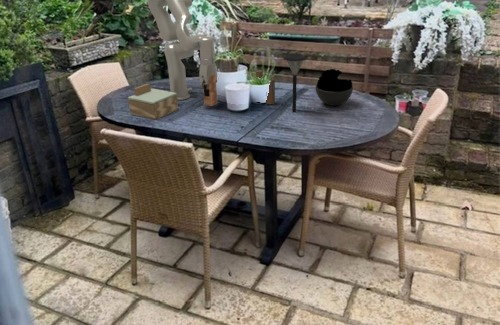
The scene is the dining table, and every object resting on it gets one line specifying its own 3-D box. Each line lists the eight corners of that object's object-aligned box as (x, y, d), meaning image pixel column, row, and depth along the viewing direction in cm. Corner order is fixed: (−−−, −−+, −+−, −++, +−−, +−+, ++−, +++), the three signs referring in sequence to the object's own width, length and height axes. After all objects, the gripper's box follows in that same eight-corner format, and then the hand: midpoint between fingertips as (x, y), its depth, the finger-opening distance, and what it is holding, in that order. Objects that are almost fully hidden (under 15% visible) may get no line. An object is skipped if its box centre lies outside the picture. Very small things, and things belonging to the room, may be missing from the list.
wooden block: (272, 105, 247) (271, 73, 239) (255, 102, 252) (254, 71, 244) (275, 103, 250) (275, 71, 242) (258, 100, 254) (257, 69, 246)
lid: (152, 90, 250) (151, 81, 248) (176, 94, 241) (175, 85, 239) (128, 99, 237) (126, 89, 234) (153, 104, 228) (151, 94, 225)
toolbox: (154, 104, 254) (152, 90, 250) (178, 109, 245) (176, 95, 241) (130, 114, 240) (128, 99, 237) (155, 119, 231) (153, 105, 228)
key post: (210, 102, 248) (208, 73, 241) (217, 103, 245) (215, 74, 238) (204, 104, 244) (202, 75, 237) (211, 106, 242) (209, 76, 235)
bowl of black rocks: (337, 96, 257) (339, 64, 249) (359, 106, 241) (362, 72, 233) (307, 102, 250) (308, 69, 242) (328, 113, 234) (330, 77, 225)
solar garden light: (310, 112, 234) (312, 55, 221) (291, 117, 229) (292, 58, 216) (296, 106, 244) (297, 51, 231) (278, 111, 238) (278, 54, 225)
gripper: (211, 57, 243) (214, 89, 251) (191, 64, 230) (194, 98, 238) (223, 58, 239) (225, 91, 247) (203, 65, 226) (205, 100, 234)
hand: (210, 94), depth 242 cm, fingers closed on key post, 5 cm apart
